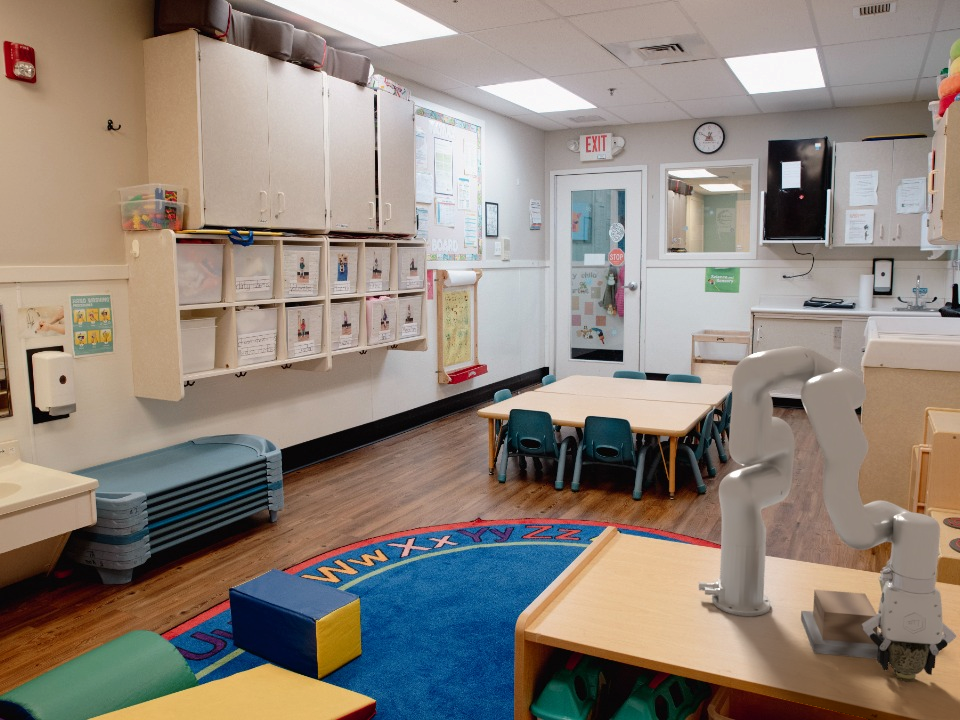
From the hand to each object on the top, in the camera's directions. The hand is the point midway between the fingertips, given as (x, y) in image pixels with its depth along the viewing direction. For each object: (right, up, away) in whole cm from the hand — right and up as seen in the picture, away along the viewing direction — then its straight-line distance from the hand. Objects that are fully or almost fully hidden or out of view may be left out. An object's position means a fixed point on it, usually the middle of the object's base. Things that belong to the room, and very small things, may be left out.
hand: (905, 667), depth 148 cm
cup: (0, -2, 0) cm, 2 cm away
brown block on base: (-5, 0, +15) cm, 15 cm away
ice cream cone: (+9, +2, +24) cm, 25 cm away
